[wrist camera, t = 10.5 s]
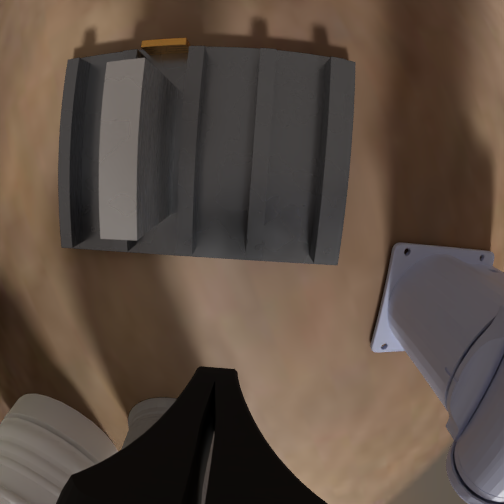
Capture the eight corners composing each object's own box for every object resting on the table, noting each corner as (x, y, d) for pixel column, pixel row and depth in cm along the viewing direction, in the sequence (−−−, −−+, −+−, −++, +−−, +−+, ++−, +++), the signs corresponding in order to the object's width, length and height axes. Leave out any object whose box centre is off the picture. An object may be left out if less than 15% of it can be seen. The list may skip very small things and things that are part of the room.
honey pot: (9, 372, 22) (-85, 495, 5) (124, 429, 24) (67, 598, 6) (24, 442, 26) (-32, 543, 8) (117, 486, 27) (83, 605, 10)
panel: (177, 88, 15) (145, 57, 10) (172, 213, 17) (137, 240, 12) (150, 89, 15) (106, 62, 10) (144, 212, 17) (100, 238, 12)
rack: (350, 66, 16) (364, 54, 14) (333, 259, 19) (344, 273, 17) (75, 64, 15) (55, 55, 13) (68, 243, 19) (49, 254, 16)
